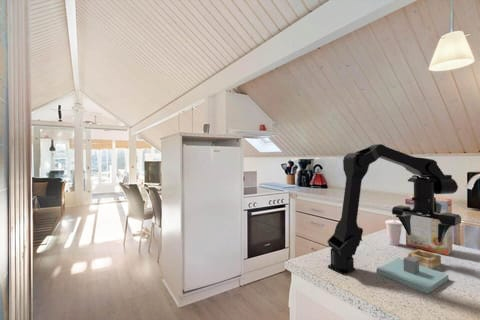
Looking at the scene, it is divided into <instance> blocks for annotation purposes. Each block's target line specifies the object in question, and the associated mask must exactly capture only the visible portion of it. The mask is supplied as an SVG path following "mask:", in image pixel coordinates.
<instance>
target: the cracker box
mask: <svg viewBox="0 0 480 320" xmlns="http://www.w3.org/2000/svg"><path fill="white" fill-rule="evenodd" d="M412 197H414V195H411V194H410V195H407V196H405V199H404V200H405V201H404V203H405V205H404V206H407V207H410V209H411V210H412V209H414V200H412ZM435 198H436V202H437V203H439V204H441V205H442V206H441V213H435V214H443V213H452V214H453V211H452V210H453V209H452V206H453V205H452V204H453V203H452V199H449V198H440V197H435ZM418 214H422V213H418ZM409 215H410V214H409ZM429 216H430V215H429ZM439 223H441V222H440V221H439V220H438V219H432V218H426V217H421V216H415V215H411V219H410V225H411V235H408V234H407V232H406V231H405V244H406V246H409V247H413V248H417V249H419V250H423V251H425V250H426V251H427V252H431V253H435V254H440V255H444V256H449V255H450V254H451V253H453V226H452V227H449V229H448V230H447V232H446V234H445V236H444V238H443V240H442V242H441V243H439V241H438V224H439Z"/></svg>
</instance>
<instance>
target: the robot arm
mask: <svg viewBox="0 0 480 320" xmlns="http://www.w3.org/2000/svg"><path fill="white" fill-rule="evenodd" d="M379 158H380V159H383V160H385V161H387V162H389V163H393V164H395V165H398V166H401V167H403V168H405V170H407V172H409V173H411V174H413V175H412V176H411V177H409V178H408V179H407V181H408V182H409V183H410V182H411V183H413V196H414V197H412V200H414V209H412V210H411V209H410V207H407V206H405V205H401V204H400V205H396V206H393V207H392V208H391V214H392V215H393V214H394V216H395V217H396V218H398V221H401V223H402V224H403V225H402V227H403V228H404V230H405V233H406V232H407V234H408V235H411V225H410V219H411V215H415V216H421V217H426V218H432V219H438V220H439V221H440V222H441V223H439V224H438V241H439V243H441V242H442V240H443V238H444V236H445V234H446V232H447V230H448V229H449V227H452V228H453V227H454V226H455V227H456V226H457V225H460V224H462V216H460V214H458V213H453V212H452V213H443V214H435V213H441V206H442V205H441V204H439V203H437V202H436V198H437V197H435V195H451V194H455V193H456V192H458V189H459V185H458V184H457V182H456V180H455V179H454V178H453V176H452V174H444V172H443V171H442V169H441V168H440V167H439V165H438V162H437V160H435V159H430V158H425V157H417V156H412V155H410V154H407V153H405V152H401V151H399V150H396V149H394V148H390V147H387V146H386V145H385V144H381V143H379V144H378V143H377V144H371V145H370V146H367V147H366V148H363V149H360V150H358V151H355V152H348V153H347V154H346V155H344V157H343V159H342V162H343V163H342V166H343V167H342V168H343V172H344V174H345V175H344V176H345V185H344V186H345V187H344V194H343V195H344V196H343V200H342V201H343V203H342V209H341V217H340V220H339V221H338V222H337V223H336V226H335V230H334V232H333V235H331V237H330V238H329V239H328V240H327V241H326V242H327V244H328V247H330V264H328V265H327V268H329V269H331V270H333V271H335V272H337V273H340V274H342V275H347V274H350V273H351V272H353V271H356V267H355V266H354V259H355V258H354V257H353V256H355V255H356V253H357V250H358V247H359V246H360V244H361V242H363V238H362V236H363V233H364V229H363V227H360V226H359V225H358V222H357V221H358V215H359V207H360V206H359V204H360V197H361V191H362V190H361V189H362V181H363V179H364V177H365V176H366V175H367V173H368V172H369V167H370V165H371V164H373V163H375V162H376V161H377V160H379ZM418 213H422V214H418ZM409 214H410V215H409ZM429 215H430V216H429Z"/></svg>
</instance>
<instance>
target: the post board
mask: <svg viewBox="0 0 480 320" xmlns="http://www.w3.org/2000/svg"><path fill="white" fill-rule="evenodd" d="M376 274H378V275H381V276H383V277H385V278H388V279H390V280H393V281H395V282H398V283H400V284H403V285H405V286H407V287H410V288H411V289H413V290H414V289H415V290H417V291H420V292H422V293H424V294H427V295H428V294H430V293H431V292H433V291H434V290H436V289H437V288H439V287H440V286H441V285H443V284H445V282H447V281H449V274H447V273H444V272H442V271H438V270H435V269H429V268H426V267H423V266H420V265H419V259H416V258H412V257H409V256H406V257H403V259H402V258H397V259H394V260H392V261H389V262H388V263H386V264H383V265H381V266H378V267H376Z"/></svg>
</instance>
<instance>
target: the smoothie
mask: <svg viewBox="0 0 480 320" xmlns="http://www.w3.org/2000/svg"><path fill="white" fill-rule="evenodd" d="M384 222H385V225H386V227H385V228H386V234H387V240H388V244H389V245H391V246H395V247H398V246H400V242H401V235H402V228H403V224H402V223H401V221H400V220H397V219H395V215H394V214H392V219H386V220H385V221H384Z"/></svg>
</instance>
